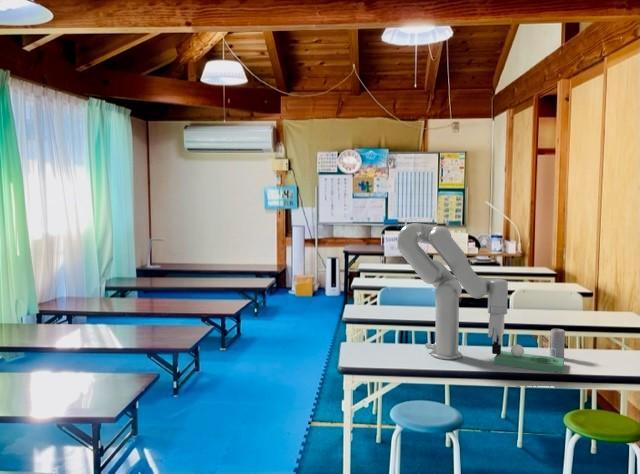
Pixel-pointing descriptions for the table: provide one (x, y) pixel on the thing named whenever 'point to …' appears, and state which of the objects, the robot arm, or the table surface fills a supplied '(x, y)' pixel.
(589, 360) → the table surface
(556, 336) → the energy drink
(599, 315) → the table surface
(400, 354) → the table surface
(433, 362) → the table surface
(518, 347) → the ball
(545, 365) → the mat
